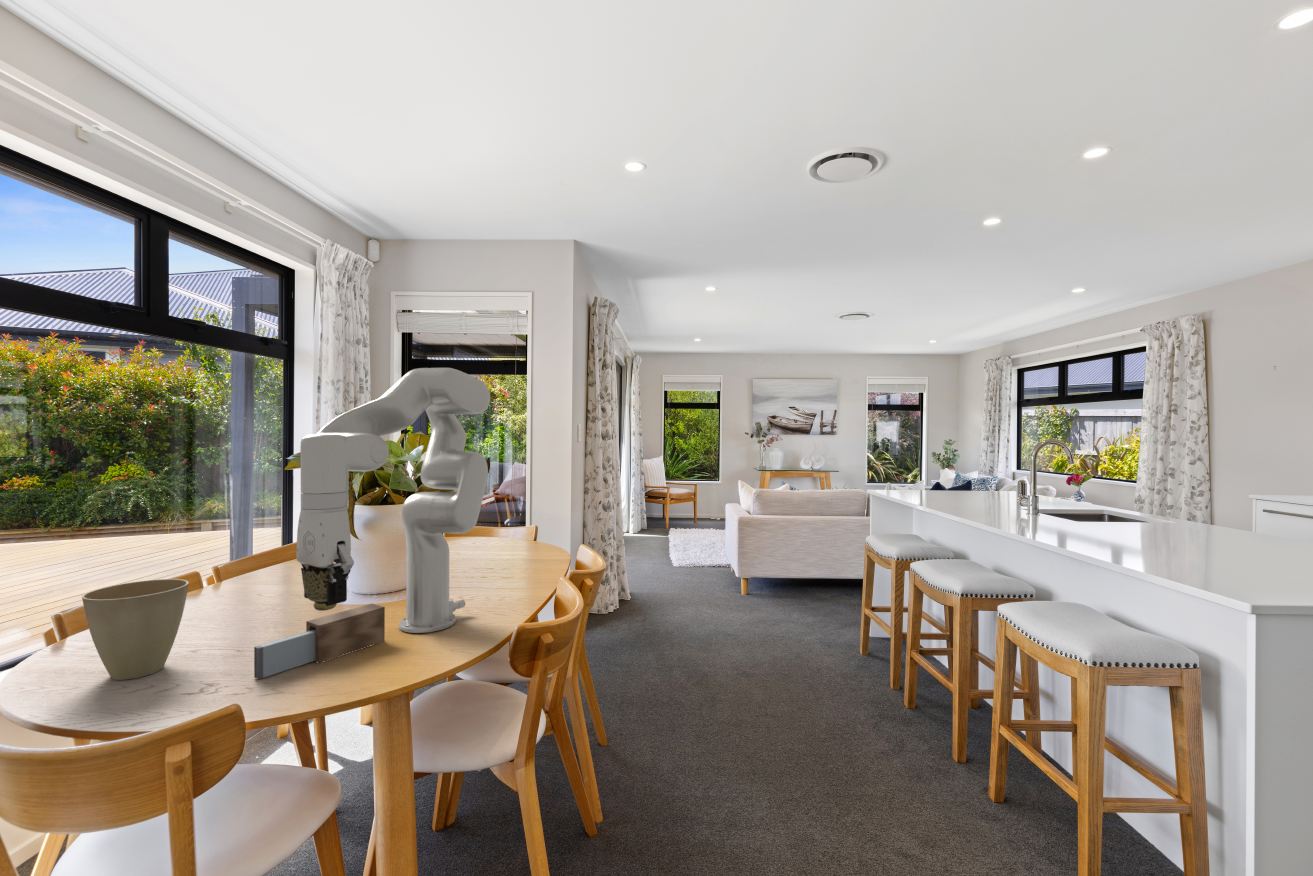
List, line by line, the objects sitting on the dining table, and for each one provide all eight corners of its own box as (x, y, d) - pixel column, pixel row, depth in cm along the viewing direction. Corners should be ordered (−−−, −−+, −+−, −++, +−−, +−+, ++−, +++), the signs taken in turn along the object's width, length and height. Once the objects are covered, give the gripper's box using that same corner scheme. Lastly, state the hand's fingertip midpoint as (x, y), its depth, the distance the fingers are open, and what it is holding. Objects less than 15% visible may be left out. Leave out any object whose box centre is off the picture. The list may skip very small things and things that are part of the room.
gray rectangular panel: (330, 652, 116) (330, 624, 116) (334, 653, 115) (334, 626, 115) (254, 677, 104) (254, 646, 104) (258, 679, 103) (258, 648, 103)
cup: (327, 616, 98) (327, 571, 98) (291, 613, 100) (290, 568, 99) (357, 603, 105) (357, 561, 105) (323, 601, 107) (323, 559, 107)
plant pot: (208, 660, 113) (208, 580, 113) (122, 693, 98) (122, 602, 98) (150, 653, 116) (150, 576, 116) (60, 684, 102) (59, 596, 101)
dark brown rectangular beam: (372, 637, 126) (372, 603, 126) (384, 641, 123) (384, 606, 123) (306, 658, 114) (306, 621, 114) (318, 663, 111) (318, 625, 111)
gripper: (277, 500, 103) (278, 597, 104) (331, 508, 95) (331, 613, 95) (319, 496, 110) (319, 587, 110) (373, 503, 101) (373, 602, 101)
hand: (325, 598), depth 102 cm, fingers closed on cup, 6 cm apart
